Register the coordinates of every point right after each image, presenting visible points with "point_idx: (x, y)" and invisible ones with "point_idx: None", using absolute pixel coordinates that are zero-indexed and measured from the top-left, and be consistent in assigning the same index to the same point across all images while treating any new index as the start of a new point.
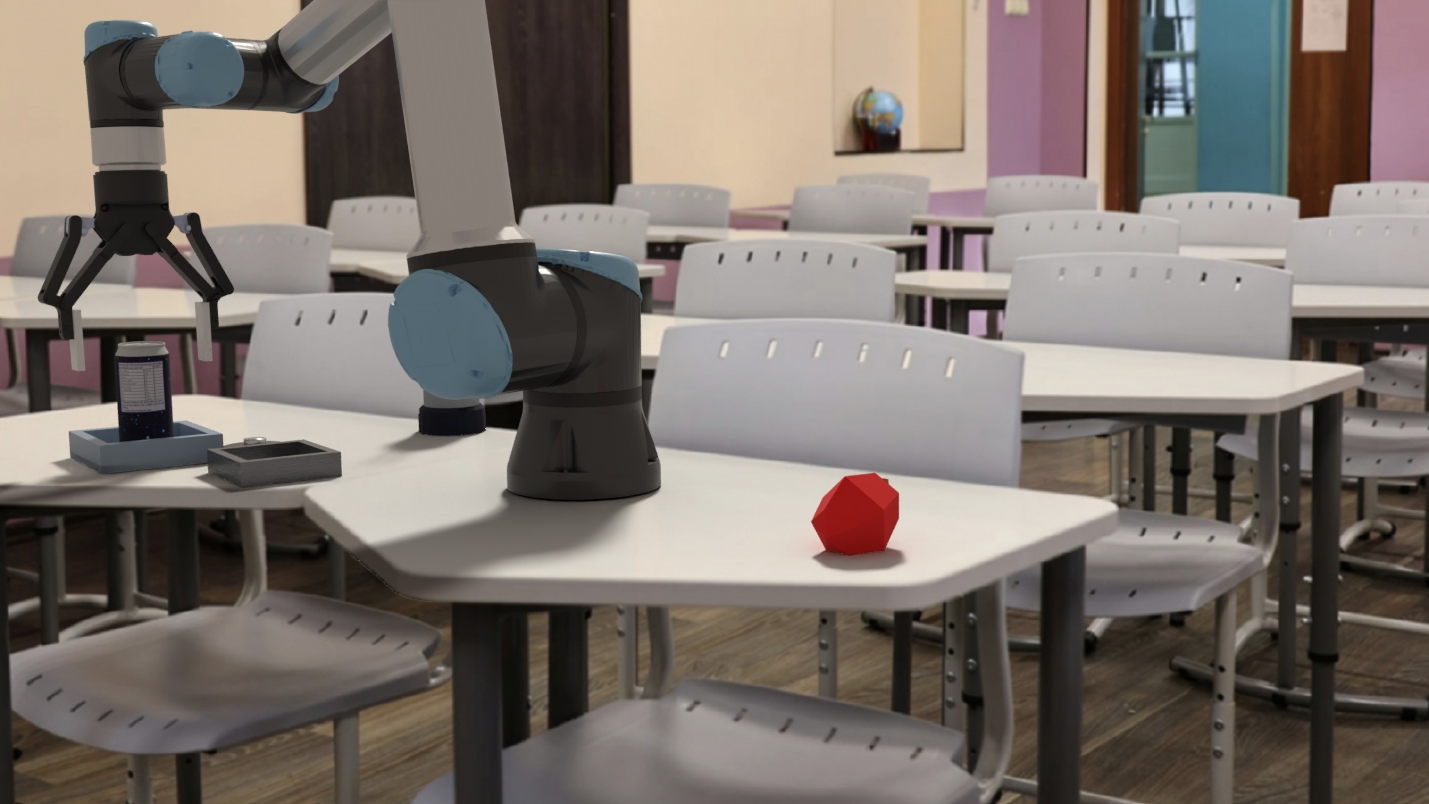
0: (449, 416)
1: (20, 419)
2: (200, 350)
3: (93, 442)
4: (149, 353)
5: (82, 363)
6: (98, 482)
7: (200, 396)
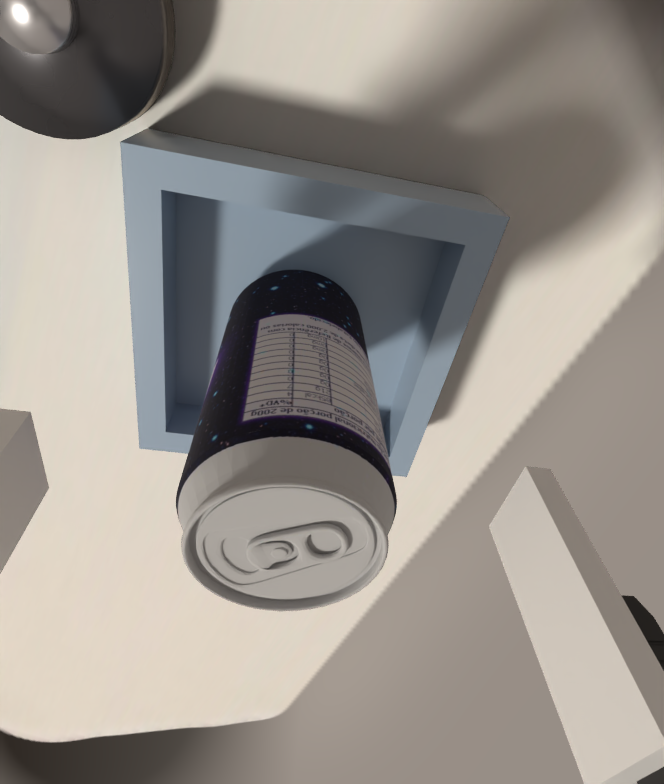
0: None
1: (277, 706)
2: (22, 496)
3: (478, 289)
4: (301, 448)
5: (544, 488)
6: (570, 66)
7: (9, 732)
